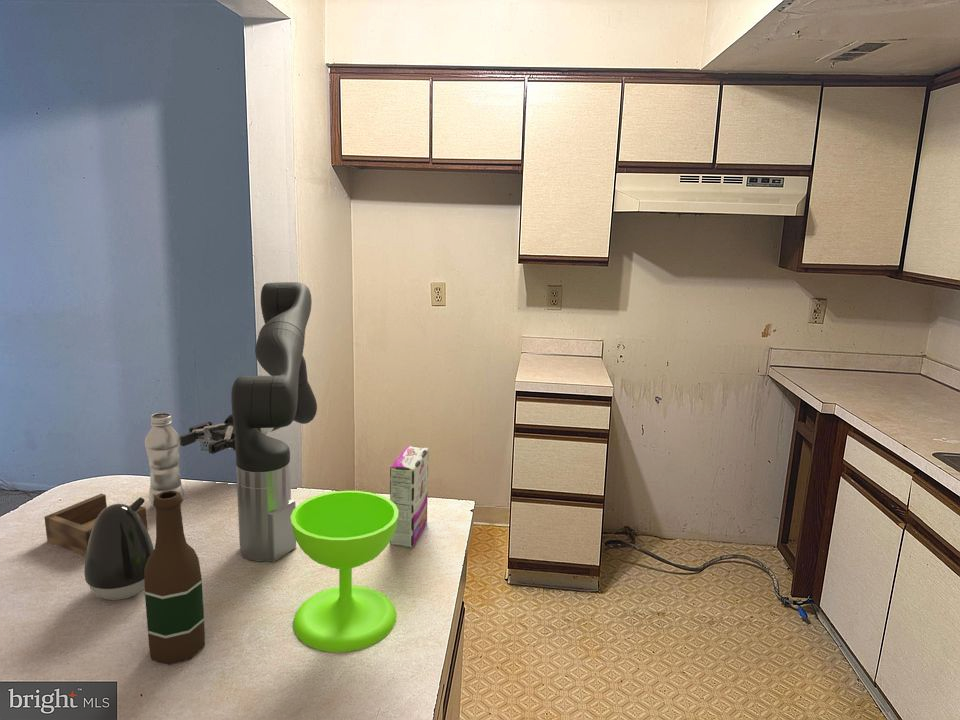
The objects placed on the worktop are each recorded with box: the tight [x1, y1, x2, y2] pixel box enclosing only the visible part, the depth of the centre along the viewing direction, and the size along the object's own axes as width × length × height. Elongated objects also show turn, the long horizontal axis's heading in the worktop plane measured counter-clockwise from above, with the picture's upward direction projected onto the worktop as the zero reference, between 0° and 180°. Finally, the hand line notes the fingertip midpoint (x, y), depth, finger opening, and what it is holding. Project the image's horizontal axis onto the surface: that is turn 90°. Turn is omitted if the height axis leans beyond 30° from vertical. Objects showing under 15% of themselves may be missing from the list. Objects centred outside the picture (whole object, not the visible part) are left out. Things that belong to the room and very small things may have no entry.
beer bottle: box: [144, 491, 206, 666], centre depth 91 cm, size 8×8×24 cm
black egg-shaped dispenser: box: [83, 496, 155, 601], centre depth 104 cm, size 10×10×15 cm
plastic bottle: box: [144, 412, 185, 510], centre depth 132 cm, size 6×7×20 cm
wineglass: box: [291, 490, 399, 653], centre depth 100 cm, size 16×16×18 cm
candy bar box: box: [389, 445, 429, 548], centre depth 127 cm, size 11×5×16 cm, turn 170°
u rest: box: [43, 493, 149, 557], centre depth 121 cm, size 12×11×5 cm
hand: (195, 445), depth 139 cm, fingers open, 8 cm apart
